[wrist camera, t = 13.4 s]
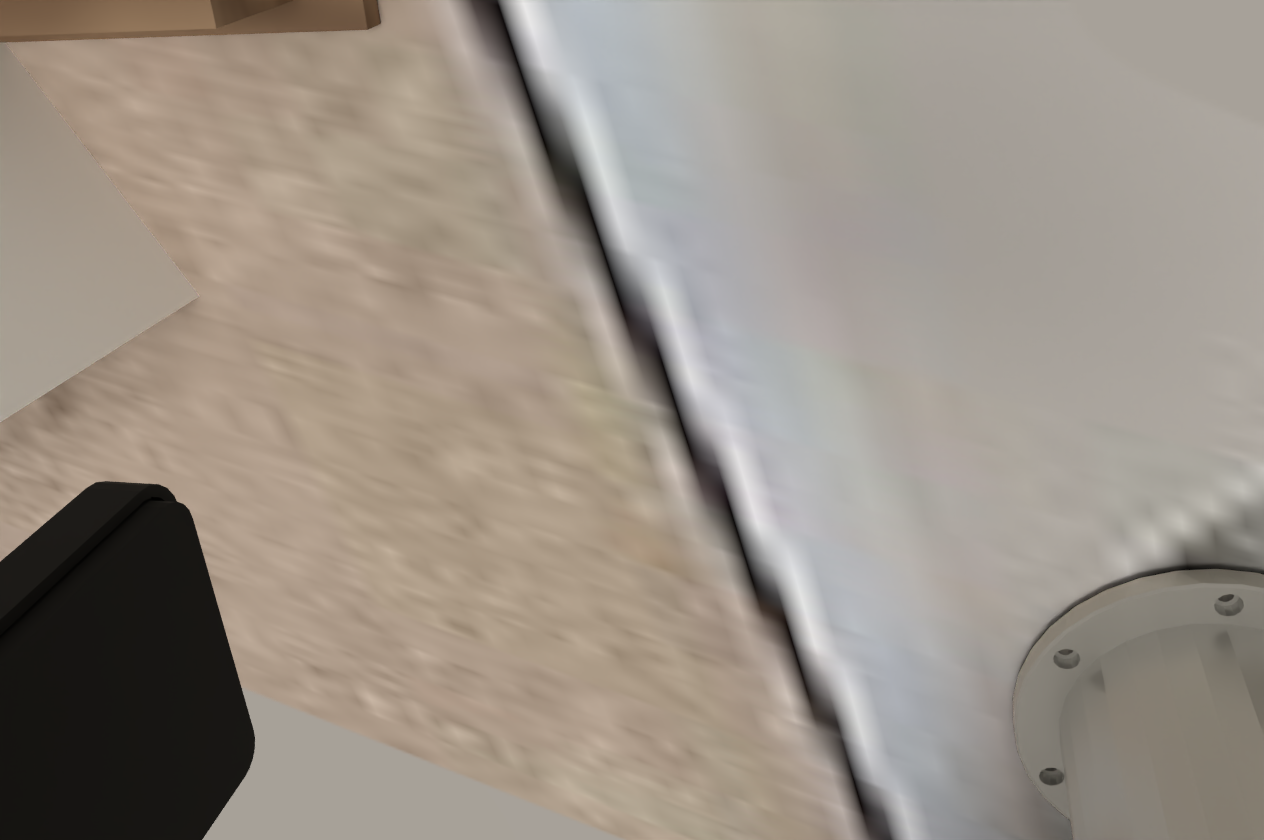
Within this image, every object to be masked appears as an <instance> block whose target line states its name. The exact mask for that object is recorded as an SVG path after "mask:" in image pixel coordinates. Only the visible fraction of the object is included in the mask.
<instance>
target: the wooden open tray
mask: <svg viewBox="0 0 1264 840" xmlns="http://www.w3.org/2000/svg"><path fill="white" fill-rule="evenodd" d="M378 24H381V23H380V17H379V11H378V5H377V0H0V42H26V41H55V40H83V39H112V38H141V37H169V36H198V35H227V34H255V33H284V32H313V31H341V30H368V29H370V28H372V27H374V26H376V25H378Z"/></svg>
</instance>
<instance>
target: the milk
mask: <svg viewBox="0 0 1264 840" xmlns="http://www.w3.org/2000/svg"><path fill="white" fill-rule="evenodd" d="M199 296H200V295H199V294H198V293H197V291H196V290H195V289H194V288H193V286H192V285H191V284H190V282H189V281H188V280H187V278H186V277H185V276H184V274H183V273H182V272H181V271H180V269H179V268H178V267H177V265H176V264H175V263H174V261H173V260H172V259H171V258H170V256H169V255H168V254H167V252H166V251H165V250H164V248H163V247H162V246H161V244H160V243H159V242H158V241H157V239H156V238H155V237H154V235H153V234H152V233H151V231H150V230H149V229H148V228H147V226H146V225H145V224H144V222H143V221H142V220H141V218H140V217H139V216H138V214H137V213H136V212H135V211H134V209H133V208H132V207H131V205H130V204H129V203H128V201H127V200H126V199H125V197H124V196H123V195H122V194H121V192H120V191H119V190H118V188H117V187H116V186H115V184H114V183H113V182H112V181H111V179H110V178H109V177H108V175H107V174H106V173H105V171H104V170H103V169H102V167H101V166H100V165H99V164H98V162H97V161H96V160H95V158H94V157H93V156H92V154H91V153H90V152H89V151H88V149H87V148H86V147H85V145H84V144H83V143H82V141H81V140H80V139H79V137H78V136H77V135H76V134H75V132H74V131H73V130H72V128H71V127H70V126H69V124H68V123H67V122H66V120H65V119H64V118H63V117H62V115H61V114H60V113H59V111H58V110H57V109H56V107H55V106H54V105H53V104H52V102H51V101H50V100H49V98H48V97H47V96H46V94H45V93H44V92H43V90H42V89H41V88H40V87H39V85H38V84H37V83H36V81H35V80H34V79H33V77H32V76H31V75H30V74H29V72H28V71H27V70H26V68H25V67H24V66H23V64H22V63H21V62H20V60H19V59H18V58H17V57H16V55H15V54H14V53H13V51H12V50H11V49H10V47H9V46H8V45H7V43H6V42H0V422H2V421H3V420H5V419H6V418H8V417H9V416H11V415H13V414H14V413H16V412H17V411H19V410H21V409H22V408H24V407H25V406H27V405H28V404H30V403H32V402H33V401H35V400H36V399H38V398H40V397H41V396H43V395H44V394H46V393H47V392H49V391H51V390H52V389H54V388H55V387H57V386H59V385H60V384H62V383H63V382H65V381H66V380H68V379H70V378H71V377H73V376H74V375H76V374H78V373H79V372H81V371H82V370H84V369H85V368H87V367H89V366H90V365H92V364H93V363H95V362H97V361H98V360H100V359H101V358H103V357H104V356H106V355H108V354H109V353H111V352H112V351H114V350H116V349H117V348H119V347H120V346H122V345H123V344H125V343H127V342H128V341H130V340H131V339H133V338H135V337H136V336H138V335H139V334H141V333H142V332H144V331H146V330H147V329H149V328H150V327H152V326H154V325H155V324H157V323H158V322H160V321H161V320H163V319H165V318H166V317H168V316H169V315H171V314H172V313H174V312H176V311H177V310H179V309H180V308H182V307H184V306H185V305H187V304H188V303H190V302H191V301H193V300H195V299H196V298H198V297H199Z"/></svg>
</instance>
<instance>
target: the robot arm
mask: <svg viewBox="0 0 1264 840" xmlns="http://www.w3.org/2000/svg"><path fill="white" fill-rule="evenodd" d="M1013 727H1014V733H1015V740H1016V746H1017V752H1018V754H1019V757H1020V759H1021V761H1022V764H1023V766H1024V768H1025V771H1026V773H1027V775H1028V777H1029V778H1030V779H1031V781H1032V782H1033V783H1034V785H1035V786H1036V788H1037V789H1038V790H1039V792H1040V793H1041V795H1042V796H1043V797H1044V798H1045V799H1046V800H1047V801H1048V802H1049V803H1050V804H1051V805H1053V806H1054V807H1055V808H1056V809H1057V810H1058V811H1059V812H1060V813H1061V814H1062V815H1063V816H1065V817H1066V818H1068V819H1069V820H1070V821H1071V829H1072V836H1073V840H1264V575H1263V574H1259V573H1254V572H1244V571H1234V570H1224V569H1203V570H1181V571H1173V572H1168V573H1163V574H1158V575H1153V576H1147V577H1142V578H1138V579H1136V580H1133V581H1130V582H1127V583H1124V584H1121V585H1118V586H1116V587H1113V588H1110V589H1107V590H1105V591H1103V592H1101V593H1099V594H1097V595H1096V596H1094V597H1092V598H1090V599H1088V600H1086V601H1085V602H1083V603H1081V604H1079V605H1077V606H1075V607H1074V608H1073V609H1072V610H1070V611H1069V612H1068V613H1067V614H1065V615H1064V616H1063V617H1062V618H1060V619H1059V620H1058V621H1057V622H1055V623H1054V624H1053V625H1052V626H1050V627H1049V629H1048V630H1047V631H1046V632H1045V633H1044V634H1043V636H1042V637H1041V638H1040V639H1039V640H1038V642H1037V643H1036V644H1035V645H1034V646H1033V648H1032V649H1031V650H1030V652H1029V654H1028V656H1027V658H1026V660H1025V662H1024V664H1023V666H1022V668H1021V670H1020V672H1019V674H1018V678H1017V682H1016V686H1015V691H1014V695H1013ZM254 749H255V736H254V730H253V726H252V723H251V719H250V716H249V713H248V709H247V706H246V702H245V699H244V695H243V692H242V688H241V685H240V681H239V678H238V674H237V671H236V667H235V664H234V660H233V657H232V653H231V650H230V646H229V643H228V639H227V636H226V632H225V629H224V625H223V622H222V618H221V615H220V612H219V608H218V605H217V601H216V598H215V594H214V591H213V587H212V584H211V580H210V577H209V573H208V570H207V566H206V563H205V559H204V556H203V552H202V549H201V545H200V542H199V538H198V535H197V531H196V528H195V524H194V521H193V518H192V516H191V513H190V511H189V509H188V508H187V507H186V506H185V505H184V504H182V503H179V502H177V501H176V499H175V496H174V495H173V494H172V493H171V492H170V491H169V489H168V488H166V487H163V486H161V485H159V484H142V483H125V482H108V481H105V482H96V483H94V484H93V485H91V486H89V487H88V488H86V489H85V490H84V491H83V492H81V493H80V494H79V495H78V496H77V497H76V498H74V499H73V500H72V501H71V502H70V503H69V504H67V505H66V506H65V507H64V508H63V509H62V510H60V511H59V512H58V513H57V514H56V515H55V516H53V517H52V518H51V519H50V520H49V521H47V522H46V523H45V524H44V525H43V526H42V527H40V528H39V529H38V530H37V531H36V532H35V533H33V534H32V535H31V536H30V537H29V538H28V539H26V540H25V541H24V542H23V543H22V544H21V545H19V546H18V547H17V548H16V549H15V550H14V551H12V552H11V553H10V554H9V555H8V556H6V557H5V558H4V559H3V560H2V561H1V562H0V840H202V839H203V838H204V836H205V835H206V833H207V831H208V830H209V829H210V827H211V826H212V824H213V823H214V821H215V820H216V818H217V817H218V815H219V814H220V813H221V811H222V809H223V808H224V807H225V805H226V804H227V802H228V801H229V799H230V798H231V796H232V795H233V793H234V792H235V790H236V789H237V788H238V786H239V785H240V783H241V782H242V780H243V779H244V777H245V775H246V774H247V772H248V770H249V768H250V765H251V762H252V759H253V754H254Z"/></svg>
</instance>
